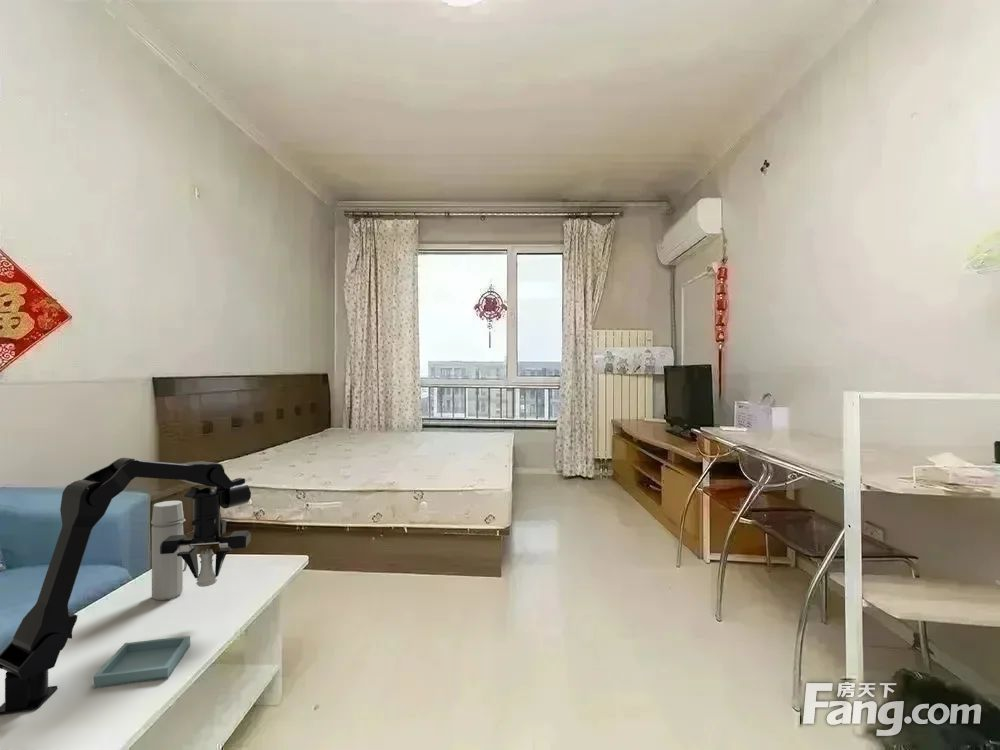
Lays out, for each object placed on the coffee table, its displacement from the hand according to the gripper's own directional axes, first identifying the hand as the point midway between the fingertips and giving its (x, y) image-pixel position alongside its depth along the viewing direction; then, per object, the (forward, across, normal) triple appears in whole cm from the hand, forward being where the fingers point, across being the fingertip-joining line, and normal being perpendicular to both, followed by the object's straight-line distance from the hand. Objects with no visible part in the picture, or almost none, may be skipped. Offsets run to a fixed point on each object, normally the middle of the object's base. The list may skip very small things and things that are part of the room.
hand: (207, 576), depth 125 cm
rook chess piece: (+2, 0, 0) cm, 2 cm away
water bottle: (+11, +14, -18) cm, 25 cm away
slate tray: (+10, +6, +19) cm, 22 cm away
